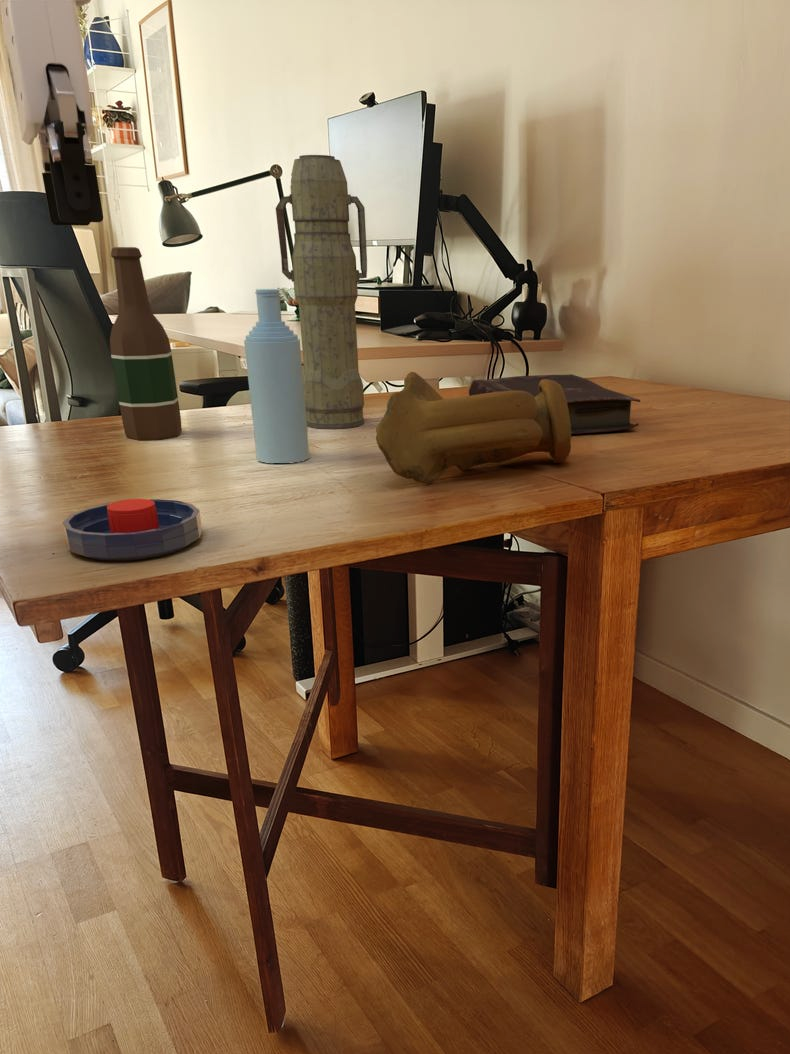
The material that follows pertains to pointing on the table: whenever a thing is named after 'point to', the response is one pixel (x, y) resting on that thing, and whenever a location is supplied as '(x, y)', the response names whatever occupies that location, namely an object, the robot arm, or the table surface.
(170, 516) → the dish
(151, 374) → the beer bottle
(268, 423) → the bottle
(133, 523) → the cap
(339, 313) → the thermos
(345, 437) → the table surface
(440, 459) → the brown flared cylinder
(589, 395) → the diary
